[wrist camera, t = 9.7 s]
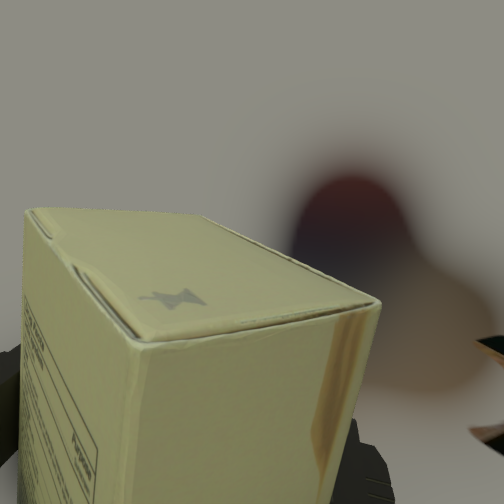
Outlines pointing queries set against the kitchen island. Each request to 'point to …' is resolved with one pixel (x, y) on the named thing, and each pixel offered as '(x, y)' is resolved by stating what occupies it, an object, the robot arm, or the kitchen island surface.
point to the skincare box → (180, 364)
